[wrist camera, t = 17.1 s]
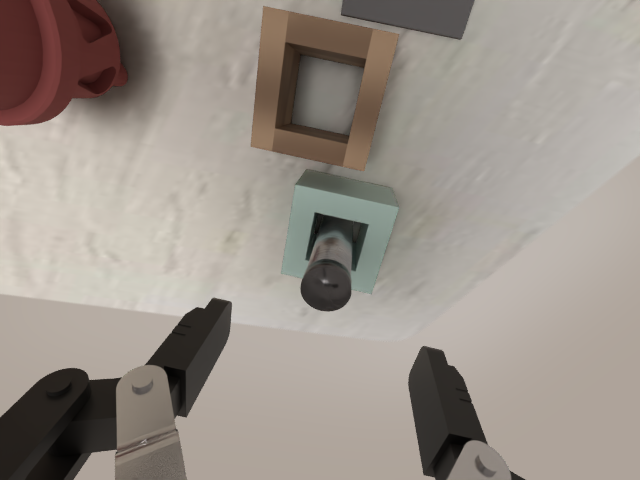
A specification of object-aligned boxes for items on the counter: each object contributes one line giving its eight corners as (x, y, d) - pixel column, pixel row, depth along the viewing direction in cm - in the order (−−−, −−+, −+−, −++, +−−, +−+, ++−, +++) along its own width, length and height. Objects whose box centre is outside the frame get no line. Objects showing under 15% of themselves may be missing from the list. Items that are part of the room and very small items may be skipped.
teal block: (306, 169, 25) (295, 184, 20) (391, 188, 25) (399, 207, 20) (293, 245, 28) (281, 273, 23) (369, 262, 27) (371, 294, 23)
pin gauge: (325, 200, 26) (305, 262, 16) (357, 207, 26) (356, 274, 16) (319, 229, 27) (296, 305, 17) (350, 236, 27) (344, 316, 17)
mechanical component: (60, -81, 20) (181, 48, 22) (5, 45, 23) (114, 145, 26) (-322, -314, 9) (1, -6, 11) (-315, -6, 12) (-73, 178, 15)
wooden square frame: (284, 26, 21) (263, 6, 16) (390, 49, 21) (399, 34, 16) (271, 138, 24) (250, 146, 19) (363, 158, 24) (364, 171, 19)
